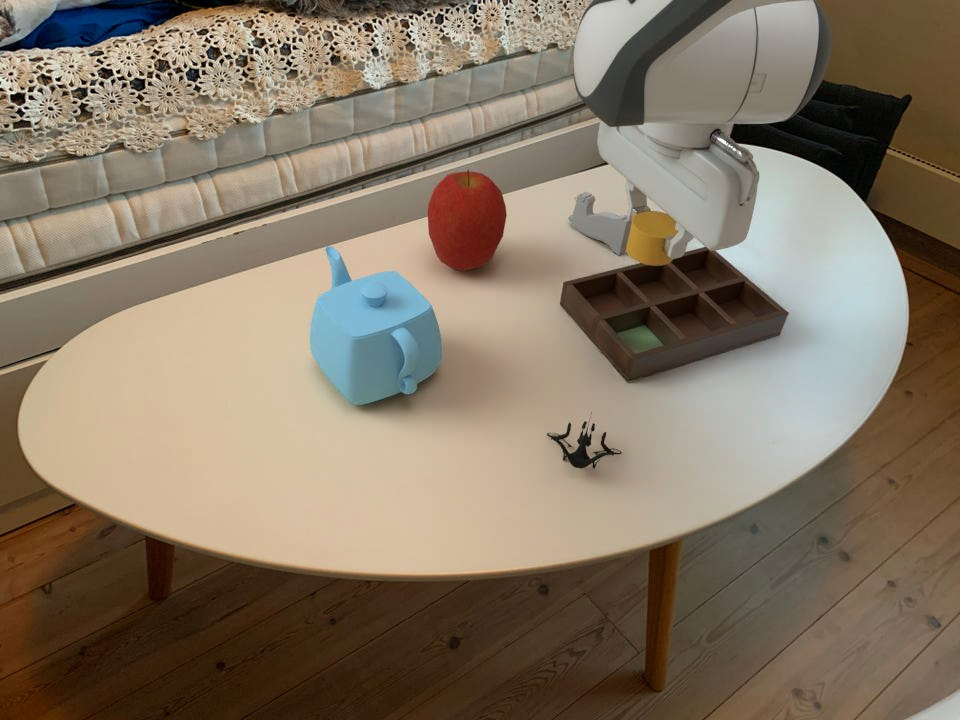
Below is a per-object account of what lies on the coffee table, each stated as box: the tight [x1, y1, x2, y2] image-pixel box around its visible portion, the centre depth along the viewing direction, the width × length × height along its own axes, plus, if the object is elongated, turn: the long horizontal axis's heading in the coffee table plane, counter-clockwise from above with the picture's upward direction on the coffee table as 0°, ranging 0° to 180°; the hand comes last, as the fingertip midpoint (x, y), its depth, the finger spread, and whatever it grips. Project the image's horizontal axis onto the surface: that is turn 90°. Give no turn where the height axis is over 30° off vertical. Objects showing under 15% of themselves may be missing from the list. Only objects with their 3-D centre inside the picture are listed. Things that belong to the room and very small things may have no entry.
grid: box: [559, 246, 790, 383], centre depth 96 cm, size 15×23×4 cm
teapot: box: [309, 245, 443, 406], centre depth 84 cm, size 12×18×12 cm
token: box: [626, 210, 679, 266], centre depth 79 cm, size 5×5×3 cm
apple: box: [427, 168, 508, 272], centre depth 99 cm, size 10×10×14 cm
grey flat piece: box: [568, 191, 632, 257], centre depth 108 cm, size 6×1×10 cm
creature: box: [546, 411, 622, 470], centre depth 78 cm, size 8×5×8 cm
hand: (653, 237), depth 79 cm, fingers closed on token, 5 cm apart
